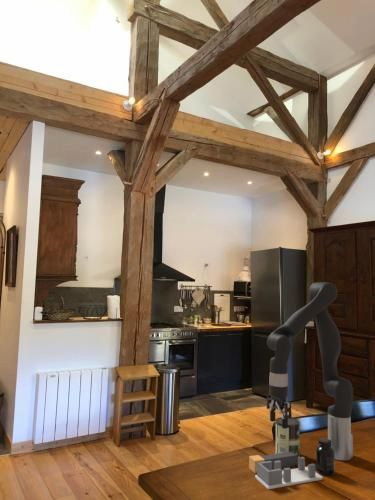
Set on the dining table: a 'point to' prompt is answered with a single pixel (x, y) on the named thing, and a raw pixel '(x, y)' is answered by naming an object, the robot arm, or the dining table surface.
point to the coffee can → (287, 437)
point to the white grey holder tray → (285, 474)
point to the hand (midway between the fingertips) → (278, 424)
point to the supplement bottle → (325, 457)
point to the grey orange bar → (285, 458)
